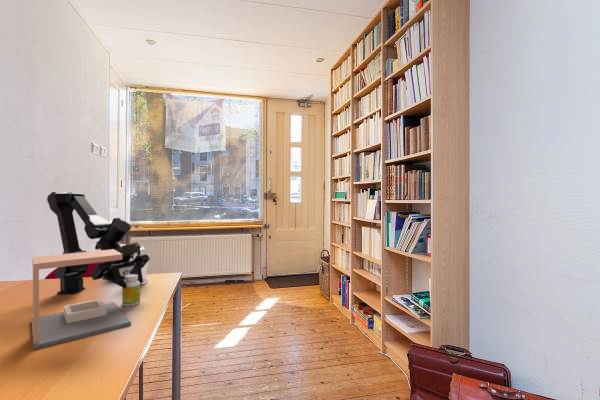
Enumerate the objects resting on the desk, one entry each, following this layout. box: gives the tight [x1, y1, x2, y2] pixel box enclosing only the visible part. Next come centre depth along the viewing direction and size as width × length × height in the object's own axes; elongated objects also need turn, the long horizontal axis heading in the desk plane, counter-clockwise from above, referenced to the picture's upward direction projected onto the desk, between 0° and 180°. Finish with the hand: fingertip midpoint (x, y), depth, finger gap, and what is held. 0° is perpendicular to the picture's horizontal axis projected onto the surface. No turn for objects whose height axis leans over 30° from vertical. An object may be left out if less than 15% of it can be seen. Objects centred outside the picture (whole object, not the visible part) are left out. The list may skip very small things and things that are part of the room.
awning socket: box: [31, 249, 132, 350], centre depth 88 cm, size 22×21×20 cm
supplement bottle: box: [121, 274, 141, 307], centre depth 104 cm, size 5×5×10 cm
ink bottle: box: [119, 259, 131, 279], centre depth 139 cm, size 10×9×12 cm
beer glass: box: [130, 246, 150, 285], centre depth 129 cm, size 7×7×15 cm
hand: (134, 285), depth 103 cm, fingers open, 6 cm apart
